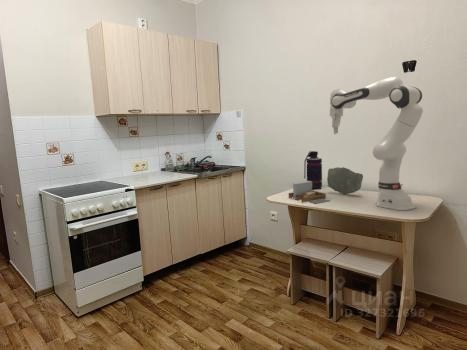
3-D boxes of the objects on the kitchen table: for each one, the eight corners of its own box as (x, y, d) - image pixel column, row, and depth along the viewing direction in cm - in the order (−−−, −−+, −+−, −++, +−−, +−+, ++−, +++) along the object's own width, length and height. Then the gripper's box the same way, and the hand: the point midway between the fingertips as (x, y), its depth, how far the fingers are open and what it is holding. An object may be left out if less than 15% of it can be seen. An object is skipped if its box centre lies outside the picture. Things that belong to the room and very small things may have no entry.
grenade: (320, 186, 271) (320, 150, 266) (323, 189, 259) (322, 151, 255) (303, 187, 272) (303, 151, 268) (305, 189, 261) (304, 152, 256)
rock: (364, 196, 230) (365, 167, 227) (361, 197, 225) (361, 168, 222) (330, 191, 249) (330, 165, 246) (326, 193, 244) (325, 166, 241)
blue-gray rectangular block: (312, 196, 236) (312, 181, 234) (296, 199, 230) (296, 183, 229) (309, 195, 239) (309, 180, 238) (293, 198, 233) (293, 183, 232)
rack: (325, 198, 228) (325, 193, 228) (303, 202, 220) (302, 197, 220) (310, 194, 243) (310, 189, 243) (288, 197, 235) (288, 193, 235)
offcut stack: (317, 198, 228) (316, 192, 228) (305, 200, 224) (305, 194, 224) (313, 197, 232) (313, 191, 231) (301, 199, 228) (301, 193, 227)
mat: (330, 201, 219) (330, 200, 219) (315, 203, 214) (315, 203, 214) (323, 199, 226) (323, 198, 226) (308, 201, 220) (308, 201, 220)
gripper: (340, 113, 218) (339, 134, 220) (341, 113, 236) (341, 132, 239) (330, 113, 220) (329, 134, 222) (332, 113, 239) (332, 132, 241)
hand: (335, 133), depth 231 cm, fingers open, 8 cm apart
